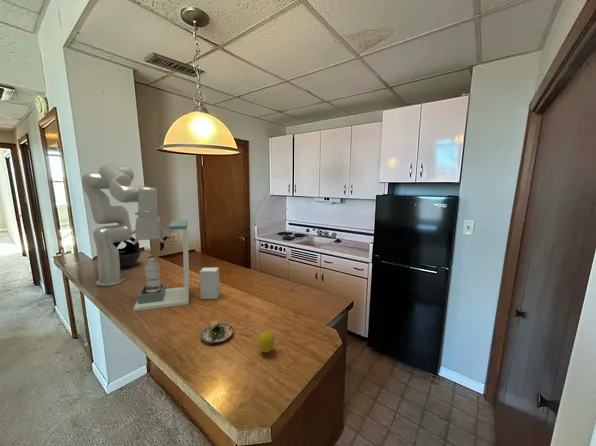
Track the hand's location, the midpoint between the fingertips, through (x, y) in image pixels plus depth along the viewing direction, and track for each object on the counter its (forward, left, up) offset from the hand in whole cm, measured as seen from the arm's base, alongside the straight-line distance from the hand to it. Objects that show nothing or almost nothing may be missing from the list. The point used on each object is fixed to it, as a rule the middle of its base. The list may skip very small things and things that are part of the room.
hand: (149, 250), depth 116 cm
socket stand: (0, +5, -25) cm, 25 cm away
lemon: (+54, +42, -25) cm, 73 cm away
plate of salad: (+39, +27, -25) cm, 54 cm away
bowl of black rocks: (-59, -25, -25) cm, 69 cm away
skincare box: (+4, +26, -25) cm, 36 cm away
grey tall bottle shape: (0, +1, -23) cm, 23 cm away
